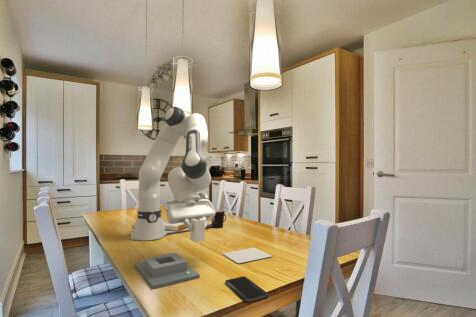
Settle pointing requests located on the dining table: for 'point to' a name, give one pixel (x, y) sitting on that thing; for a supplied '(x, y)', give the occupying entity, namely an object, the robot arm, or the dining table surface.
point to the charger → (198, 230)
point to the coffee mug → (218, 219)
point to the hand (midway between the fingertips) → (198, 228)
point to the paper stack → (246, 255)
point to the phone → (246, 289)
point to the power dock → (167, 277)
